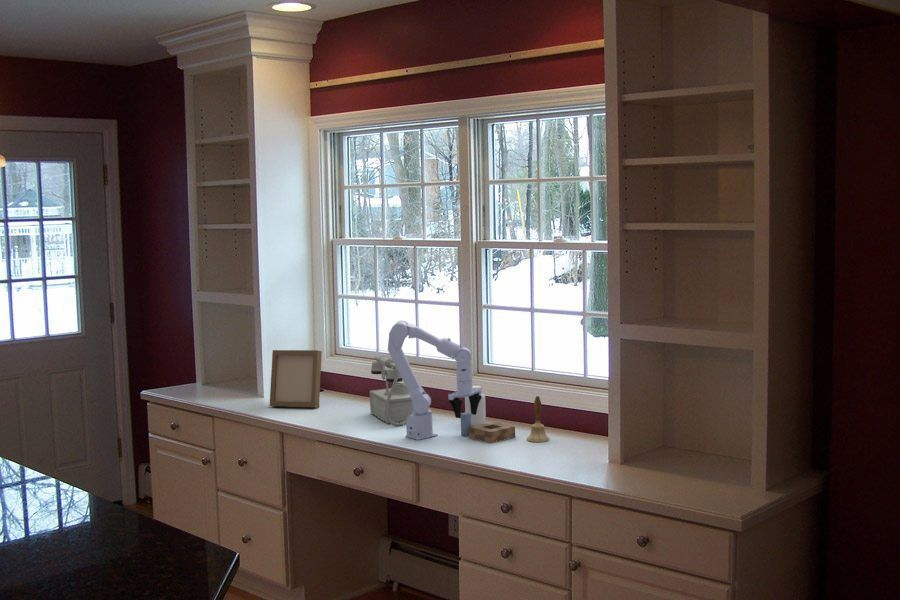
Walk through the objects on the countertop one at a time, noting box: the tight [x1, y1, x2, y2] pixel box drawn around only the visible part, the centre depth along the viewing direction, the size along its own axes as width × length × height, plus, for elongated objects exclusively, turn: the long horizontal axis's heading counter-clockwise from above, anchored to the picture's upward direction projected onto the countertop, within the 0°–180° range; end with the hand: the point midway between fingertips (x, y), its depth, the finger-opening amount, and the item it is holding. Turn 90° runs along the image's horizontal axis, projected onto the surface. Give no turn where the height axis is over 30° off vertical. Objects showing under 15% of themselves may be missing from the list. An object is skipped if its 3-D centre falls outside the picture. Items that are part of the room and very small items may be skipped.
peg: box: [460, 412, 472, 437], centre depth 366 cm, size 4×4×8 cm
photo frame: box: [269, 349, 323, 408], centre depth 433 cm, size 15×22×25 cm
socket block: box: [468, 421, 516, 444], centre depth 361 cm, size 12×12×4 cm
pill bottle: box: [464, 385, 487, 426], centre depth 383 cm, size 8×8×15 cm
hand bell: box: [526, 395, 550, 443], centre depth 354 cm, size 8×8×16 cm
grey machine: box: [369, 355, 431, 427], centre depth 400 cm, size 32×20×25 cm, turn 21°
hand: (465, 416), depth 366 cm, fingers open, 7 cm apart
